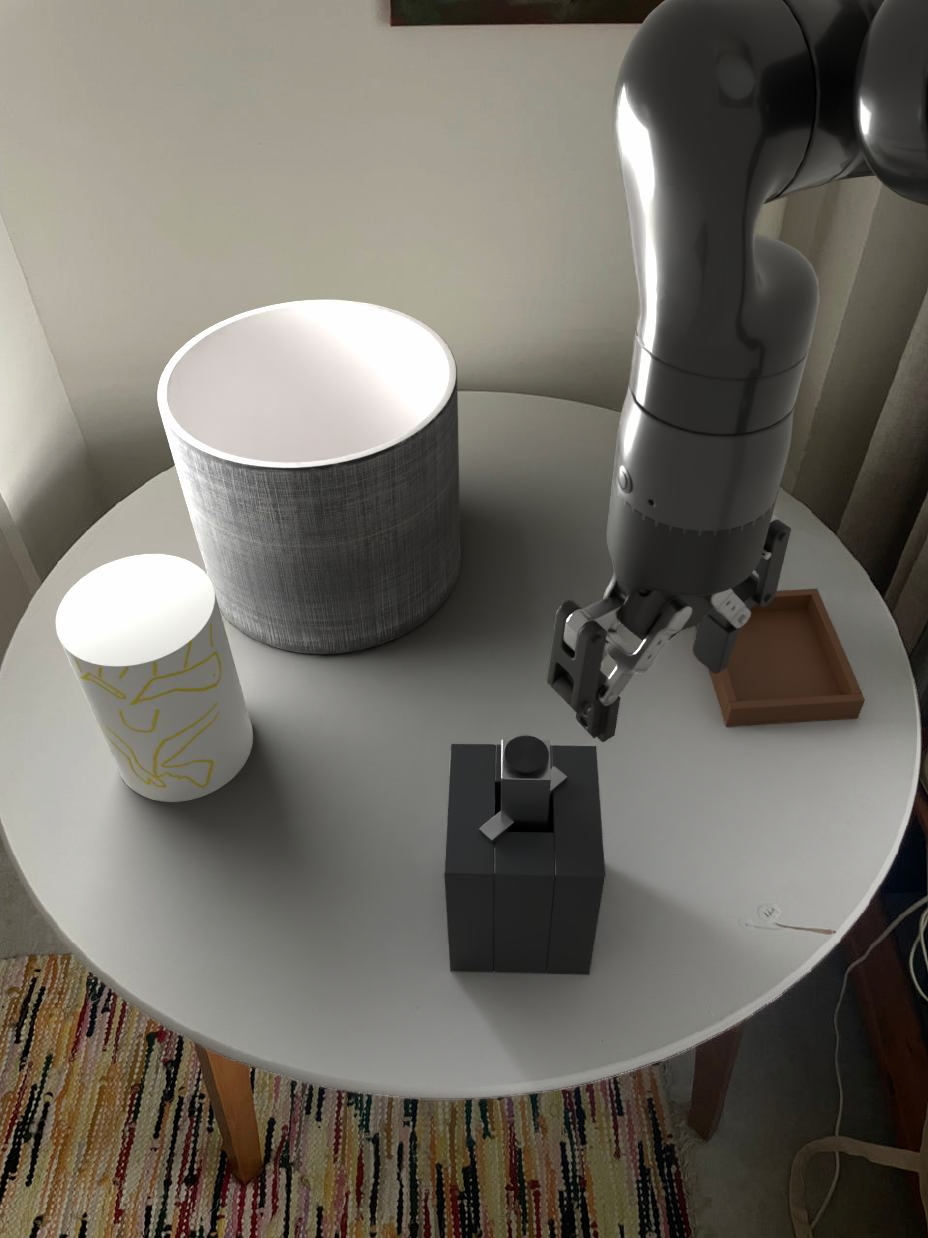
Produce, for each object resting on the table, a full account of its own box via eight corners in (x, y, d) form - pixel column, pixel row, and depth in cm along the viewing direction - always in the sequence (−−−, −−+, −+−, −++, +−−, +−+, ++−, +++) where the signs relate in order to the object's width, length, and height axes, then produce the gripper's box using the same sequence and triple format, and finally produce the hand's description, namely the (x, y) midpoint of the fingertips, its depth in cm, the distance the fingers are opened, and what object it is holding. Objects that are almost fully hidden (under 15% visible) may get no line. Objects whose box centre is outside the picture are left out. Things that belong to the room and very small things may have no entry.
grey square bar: (559, 839, 75) (571, 716, 65) (562, 912, 71) (575, 793, 61) (481, 838, 75) (480, 715, 65) (479, 910, 72) (478, 792, 61)
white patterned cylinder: (115, 813, 84) (50, 678, 71) (118, 705, 91) (60, 566, 79) (257, 787, 85) (218, 651, 73) (248, 683, 93) (211, 543, 81)
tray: (858, 718, 89) (865, 700, 87) (725, 727, 89) (730, 709, 87) (811, 606, 98) (817, 588, 97) (691, 613, 98) (695, 595, 96)
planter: (188, 660, 95) (127, 471, 79) (229, 485, 112) (186, 301, 96) (463, 655, 95) (457, 464, 79) (461, 481, 112) (456, 296, 96)
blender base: (582, 852, 80) (596, 745, 70) (589, 975, 74) (605, 876, 63) (455, 849, 81) (450, 743, 71) (450, 972, 74) (444, 873, 64)
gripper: (632, 581, 42) (600, 801, 54) (865, 456, 48) (790, 680, 59) (522, 487, 46) (515, 709, 58) (748, 381, 52) (700, 605, 64)
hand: (654, 695), depth 59 cm, fingers open, 8 cm apart
